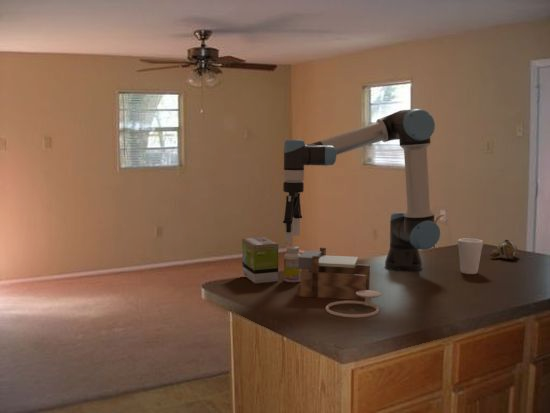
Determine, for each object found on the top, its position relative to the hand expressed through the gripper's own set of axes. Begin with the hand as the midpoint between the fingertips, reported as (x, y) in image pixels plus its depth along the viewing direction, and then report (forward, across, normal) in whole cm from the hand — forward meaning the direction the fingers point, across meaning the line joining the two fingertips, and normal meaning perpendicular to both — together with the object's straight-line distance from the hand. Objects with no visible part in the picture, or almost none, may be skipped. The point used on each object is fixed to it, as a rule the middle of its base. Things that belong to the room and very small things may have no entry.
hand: (292, 238), depth 236 cm
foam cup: (+16, -32, +66) cm, 75 cm away
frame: (+16, +13, +18) cm, 27 cm away
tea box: (+17, -1, -13) cm, 21 cm away
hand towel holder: (+17, +33, +27) cm, 46 cm away
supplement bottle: (+16, 0, 0) cm, 16 cm away
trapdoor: (+7, +13, +16) cm, 21 cm away
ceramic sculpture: (+16, -67, +84) cm, 109 cm away
